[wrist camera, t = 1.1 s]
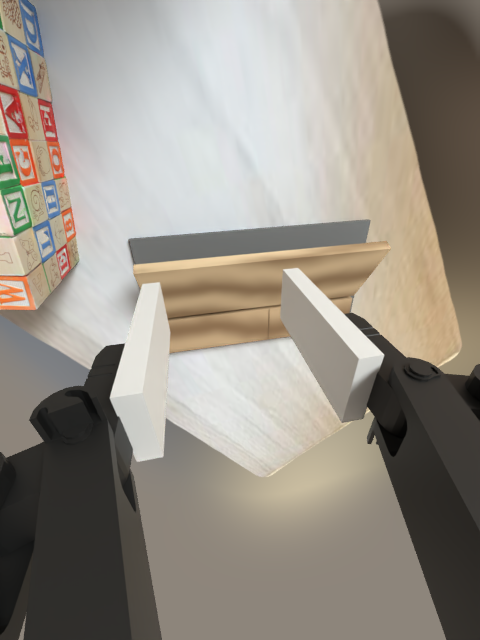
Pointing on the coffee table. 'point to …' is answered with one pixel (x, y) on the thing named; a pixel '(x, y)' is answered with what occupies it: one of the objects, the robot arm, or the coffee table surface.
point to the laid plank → (233, 326)
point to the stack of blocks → (30, 169)
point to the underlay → (247, 241)
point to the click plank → (258, 277)
